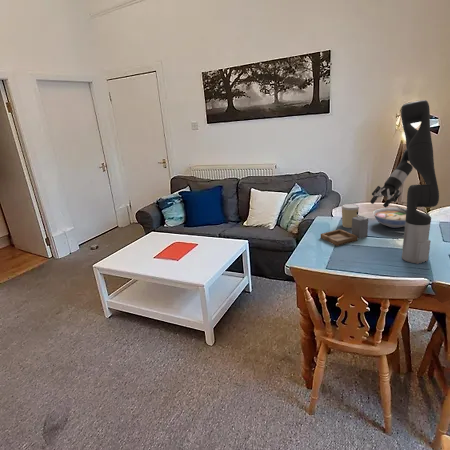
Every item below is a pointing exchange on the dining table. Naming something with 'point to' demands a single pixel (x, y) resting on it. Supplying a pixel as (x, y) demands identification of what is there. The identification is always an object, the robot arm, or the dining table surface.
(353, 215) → the coffee cup
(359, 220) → the grey rectangular block
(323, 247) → the dining table surface
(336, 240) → the tray
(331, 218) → the dining table surface
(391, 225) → the ramen bowl
